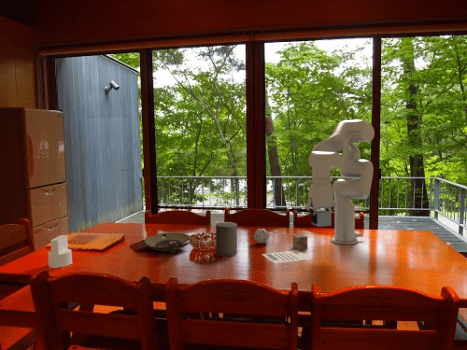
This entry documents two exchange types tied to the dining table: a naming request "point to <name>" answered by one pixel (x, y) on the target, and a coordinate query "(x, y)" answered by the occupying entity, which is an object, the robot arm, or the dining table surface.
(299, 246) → the walnut block
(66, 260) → the base with upright slab
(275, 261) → the letter
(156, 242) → the oil lamp
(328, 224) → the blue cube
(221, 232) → the pillar candle
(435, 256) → the dining table surface
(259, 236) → the game die
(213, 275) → the dining table surface
